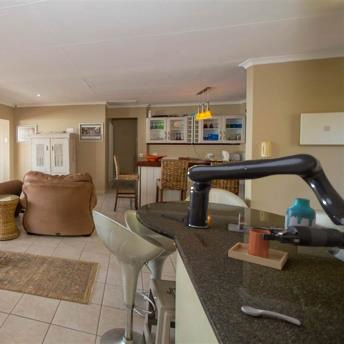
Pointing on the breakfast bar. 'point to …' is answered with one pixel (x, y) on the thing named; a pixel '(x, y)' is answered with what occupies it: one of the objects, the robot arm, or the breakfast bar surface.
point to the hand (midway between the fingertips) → (257, 233)
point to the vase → (300, 214)
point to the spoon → (257, 312)
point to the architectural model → (240, 225)
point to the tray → (274, 259)
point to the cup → (258, 243)
